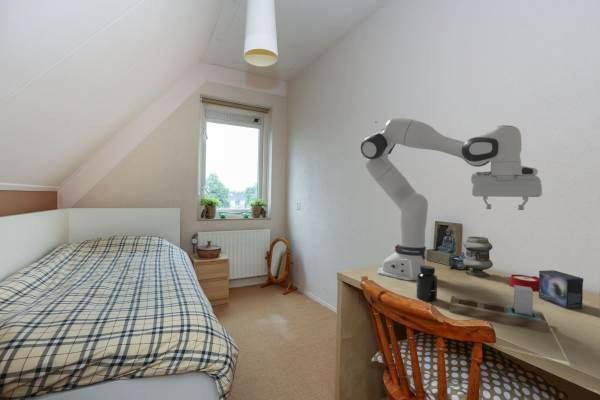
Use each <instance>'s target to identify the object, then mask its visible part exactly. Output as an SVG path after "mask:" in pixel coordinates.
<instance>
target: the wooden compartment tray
mask: <svg viewBox="0 0 600 400" xmlns="http://www.w3.org/2000/svg"><path fill="white" fill-rule="evenodd" d="M448 307H449V310H448V311H449V312H450V313H455V314H458V315H459V314H460V315H463V316H468V317H473V318H479V319H483V320H488V321H492V322H497V323H502V324H506V325H511V326H517V327H521V328H525V329H530V330H536V331H539V332H545V333H548V331H549V329H548V328H549V322H548V320H547V319H546V317H545V315H544V313H543V312H542V311H540V310H539V311H538V310H533V311H532V317H529V316H524V315H519V314H514V313H513V309H514V305H513V306H511V305H506V304H505V305H504V304H499V303H493V302H488V301H483V300H478V299H473V298H467V297H461V296H455V295H451V298H450V301H449V306H448Z"/></svg>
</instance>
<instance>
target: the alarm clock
mask: <svg viewBox="0 0 600 400" xmlns="http://www.w3.org/2000/svg"><path fill="white" fill-rule="evenodd" d="M503 277H504V278H507V279H510V281H509V282H508V286H509V287H512V288H514V285H517V286H524V287H531V289H532V290H533V292H534V291H538V292H539V276H535V275H533V276H529V275H524V274H511V275H510V276H503Z"/></svg>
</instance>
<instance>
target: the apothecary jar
mask: <svg viewBox="0 0 600 400" xmlns="http://www.w3.org/2000/svg"><path fill="white" fill-rule="evenodd" d="M463 247H464V248H465V251H466V252H465V258H463V261H462V262H463V264H464V266H465V267H467V268H470V269H468V270H466V271H465V272H464V273H465V274H467V275H468V276H471V277H475V278H476V277H477V278H489V277H490V276H491V275H490V274H489V273H487V272H486V270H489V269H491V268H493V265H494V264H493V263H494V262H493V261H492V260H491V259H490V251H491V250H492V249H493V245H492V243H491V242H490V241H489V238H488V237H485V236H475V235H471V236H467V239H466V240H465V241H464V242H463Z"/></svg>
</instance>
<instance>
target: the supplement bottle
mask: <svg viewBox="0 0 600 400" xmlns="http://www.w3.org/2000/svg"><path fill="white" fill-rule="evenodd" d="M420 272H421V273H419V274H418V275H417V280H416V299H418V300H419V301H423V302H429V303H434V302H436V301H438V300H437V299H438V277H437V275H436V274H435V273H436V268H435V267H434V266H431V265H426V266H420Z"/></svg>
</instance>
